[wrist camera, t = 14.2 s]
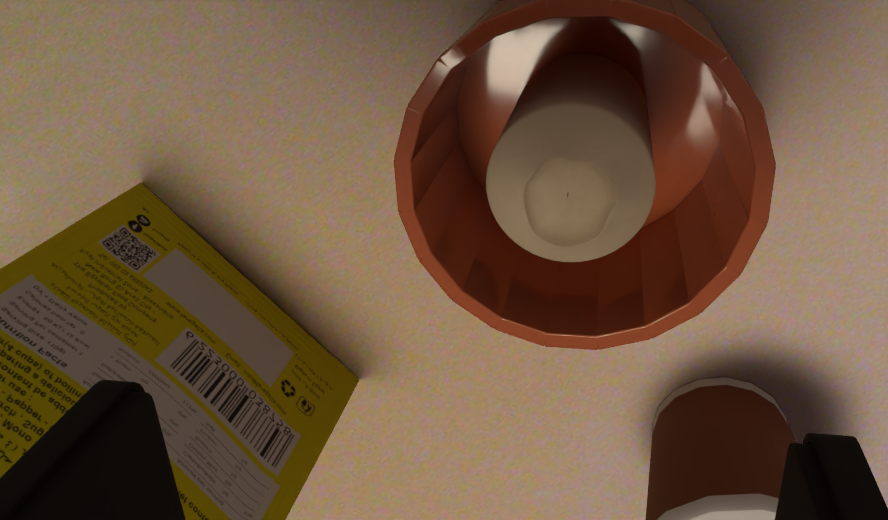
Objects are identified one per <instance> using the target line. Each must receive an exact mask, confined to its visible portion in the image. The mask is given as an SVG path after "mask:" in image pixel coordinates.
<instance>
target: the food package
mask: <svg viewBox="0 0 888 520" xmlns="http://www.w3.org/2000/svg"><path fill="white" fill-rule="evenodd" d="M101 380H115V381H128V382H136V383H140V385H141V386H142V387H143V388H144V390H145V392H147V393H149V394H150V395H151V396H152V398H153V400H154V403H155V407H156V411H157V414H158V418H159V422H160V426H161V429H162V433H163V437H164V441H165V444H166V448H167V452H168V455H169V459H170V463H171V467H172V470H173V474H174V478H175V482H176V485H177V489H178V493H179V496H180V500H181V504H182V508H183V511H184V515H185V520H285V519H286V517H287V516H288V514H289V512H290V510H291V508H292V506H293V504H294V502H295V501H296V499H297V497H298V495H299V493H300V491H301V489H302V487H303V485H304V484H305V482H306V480H307V478H308V476H309V474H310V472H311V470H312V468H313V467H314V465H315V463H316V461H317V459H318V457H319V455H320V453H321V452H322V450H323V448H324V446H325V444H326V442H327V440H328V438H329V436H330V435H331V433H332V431H333V429H334V427H335V425H336V423H337V421H338V420H339V418H340V416H341V414H342V412H343V410H344V408H345V406H346V404H347V403H348V401H349V399H350V397H351V395H352V393H353V391H354V389H355V387H356V385H357V383H358V382H359V379H358V378H356V377H355V375H354V374H353V373H351V372H350V371H349V370H348V369H347V368H346V367H345V366H343V365H342V364H341V362H339V361H338V360H337V359H336V358H334V357H333V356H332V355H331V354H330V353H329V352H327V351H326V350H325V349H324V348H323V347H322V346H321V345H320V344H319V343H317V342H316V341H315V340H314V339H313V338H312V337H311V336H310V335H309V334H307V333H306V332H305V331H304V330H303V329H302V328H301V327H300V326H299V325H298V324H296V323H295V322H294V321H293V320H292V319H291V318H290V317H289V316H288V315H286V314H285V313H284V312H283V311H282V310H281V309H280V308H279V307H278V306H276V305H275V304H274V303H273V302H272V301H271V300H270V299H269V298H268V297H266V296H265V295H264V294H263V293H262V292H261V291H260V290H259V289H258V288H256V287H255V286H254V285H253V284H252V283H251V282H250V281H249V280H248V279H247V278H245V277H244V276H243V275H242V274H241V273H240V272H239V271H238V270H237V269H235V268H234V267H233V266H232V265H231V264H230V263H229V262H228V261H227V260H225V259H224V258H223V257H222V256H221V255H220V254H219V253H218V252H217V251H215V250H214V249H213V248H212V247H211V246H210V245H209V244H208V243H207V242H205V241H204V240H203V239H202V238H201V237H200V236H199V235H198V234H197V233H195V232H194V231H193V230H192V229H191V228H190V227H189V226H188V225H187V224H185V223H184V222H183V221H182V220H181V219H180V218H179V217H178V216H177V215H176V214H174V213H173V212H172V211H171V210H170V209H169V208H168V207H167V206H166V205H165V204H164V203H163V202H162V201H161V200H159V199H158V198H157V197H156V195H154V194H153V193H152V192H151V191H150V190H149V189H148V188H146V187H145V186H144V185H143V184H142V183H139V184H138V185H136V186H134V187H133V188H131V189H130V190H128V191H126V192H125V193H123V194H121V195H119V196H118V197H116V198H115V199H113V200H111V201H110V202H108V203H107V204H105V205H103V206H102V207H100V208H98V209H97V210H95V211H94V212H92V213H90V214H89V215H87V216H86V217H84V218H82V219H81V220H79V221H77V222H76V223H74V224H73V225H71V226H69V227H68V228H66V229H65V230H63V231H61V232H60V233H58V234H56V235H55V236H53V237H52V238H50V239H48V240H47V241H45V242H43V243H42V244H40V245H39V246H37V247H35V248H34V249H32V250H31V251H29V252H27V253H26V254H24V255H22V256H21V257H19V258H18V259H16V260H14V261H13V262H11V263H10V264H8V265H6V266H5V267H3V268H1V269H0V478H1V477H2V476H3V475H4V474H5V473H6V472H7V471H8V470H9V469H10V468H11V467H12V466H13V465H14V464H15V463H16V462H17V461H18V460H19V459H20V458H21V457H22V456H23V455H24V454H25V453H26V452H27V451H28V450H29V449H30V448H31V447H32V446H33V445H34V444H35V443H36V442H37V441H38V440H39V439H40V438H41V437H42V436H43V435H44V434H45V433H46V432H47V431H48V430H49V429H50V428H51V427H52V426H53V425H54V424H55V423H56V422H57V421H58V420H59V419H60V418H61V417H62V416H63V415H64V414H65V413H66V412H67V411H68V410H69V409H70V408H71V407H72V406H73V405H74V404H75V403H76V402H77V401H78V400H79V399H80V398H81V397H82V396H83V395H84V394H85V393H86V392H87V391H88V390H89V389H90V388H91V387H92V386H93V385H94V384H96V383H97V382H99V381H101Z"/></svg>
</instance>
